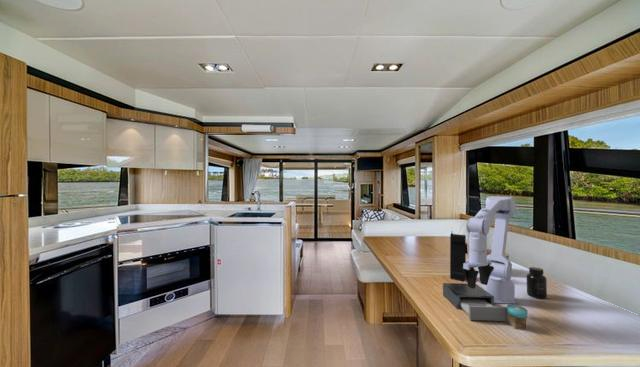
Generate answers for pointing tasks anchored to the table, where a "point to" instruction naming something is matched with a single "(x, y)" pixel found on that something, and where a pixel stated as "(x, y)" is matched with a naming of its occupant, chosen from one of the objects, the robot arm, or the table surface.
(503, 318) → the tray
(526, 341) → the table surface
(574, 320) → the table surface
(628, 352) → the table surface
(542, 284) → the supplement bottle
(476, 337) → the table surface
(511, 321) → the walnut block
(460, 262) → the portable radio
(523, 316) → the disc
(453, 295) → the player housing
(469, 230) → the robot arm
